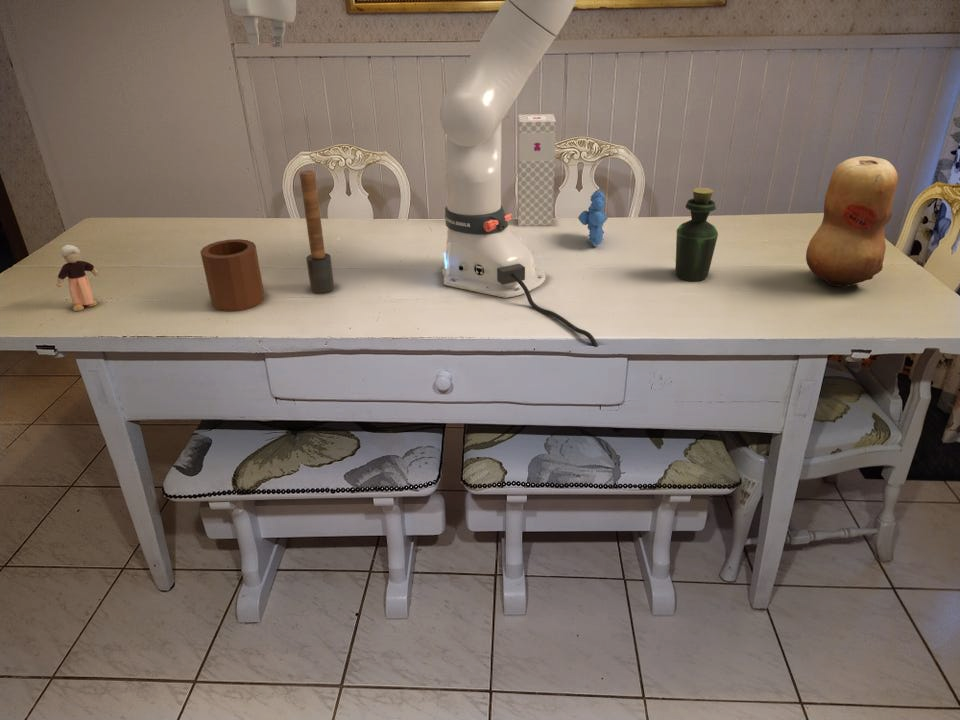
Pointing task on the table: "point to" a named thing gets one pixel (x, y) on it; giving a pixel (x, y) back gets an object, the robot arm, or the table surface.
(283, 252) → the table surface
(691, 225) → the potion bottle
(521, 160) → the box
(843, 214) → the butternut squash
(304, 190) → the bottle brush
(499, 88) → the robot arm
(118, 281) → the table surface
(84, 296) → the grandmother figurine
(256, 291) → the cylindrical container
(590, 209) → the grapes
